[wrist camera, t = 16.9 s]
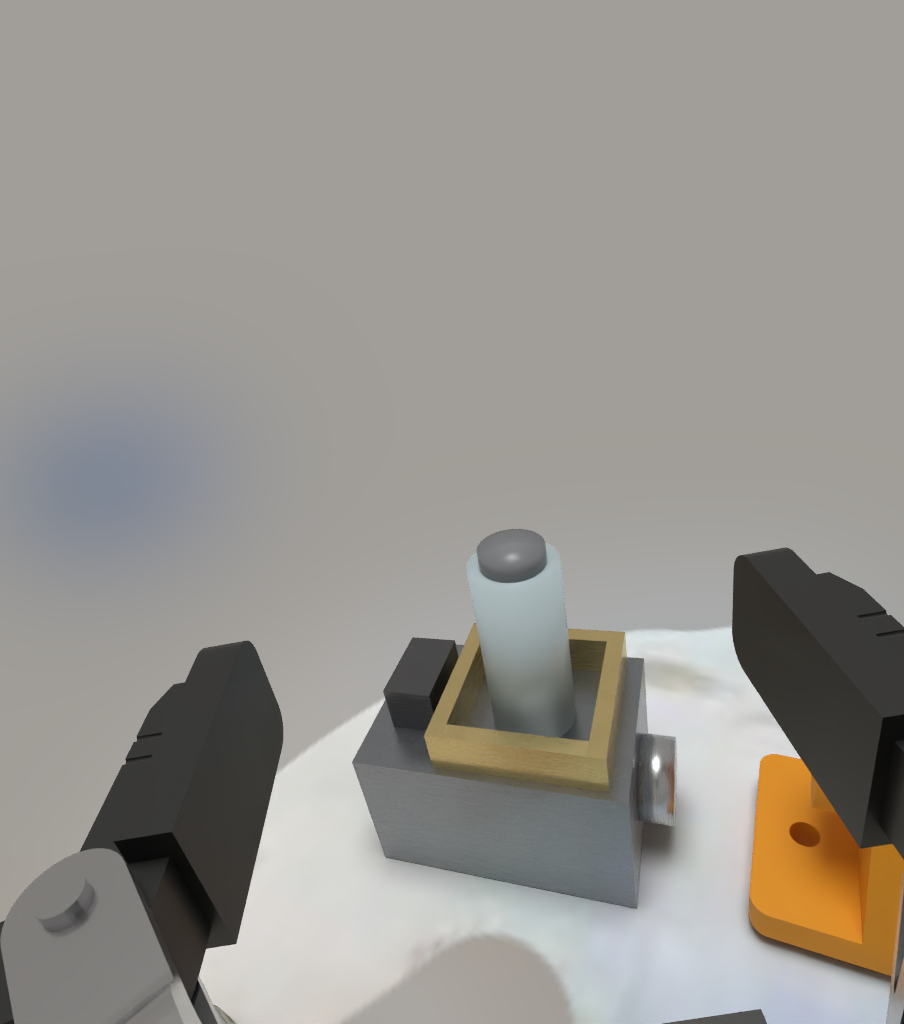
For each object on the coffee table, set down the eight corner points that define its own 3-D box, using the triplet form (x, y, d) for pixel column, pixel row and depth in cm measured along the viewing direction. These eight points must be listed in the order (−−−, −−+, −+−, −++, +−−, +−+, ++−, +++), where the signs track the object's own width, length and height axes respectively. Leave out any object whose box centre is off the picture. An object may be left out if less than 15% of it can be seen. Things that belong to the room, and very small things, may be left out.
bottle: (580, 685, 41) (564, 522, 36) (570, 749, 37) (551, 576, 32) (502, 679, 43) (476, 522, 37) (485, 740, 39) (452, 573, 33)
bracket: (759, 779, 44) (767, 638, 38) (889, 808, 40) (918, 657, 35) (746, 939, 36) (754, 788, 30) (908, 991, 32) (950, 832, 27)
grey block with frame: (678, 759, 46) (675, 623, 41) (673, 916, 37) (668, 768, 32) (439, 729, 52) (408, 608, 47) (385, 857, 43) (339, 725, 38)
